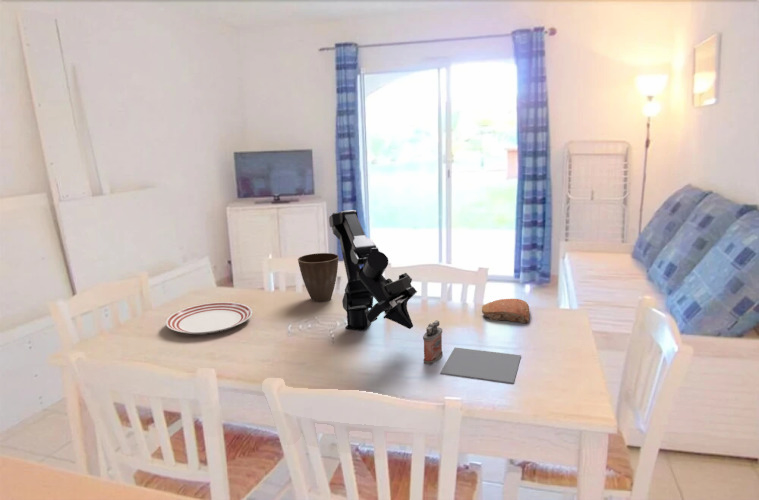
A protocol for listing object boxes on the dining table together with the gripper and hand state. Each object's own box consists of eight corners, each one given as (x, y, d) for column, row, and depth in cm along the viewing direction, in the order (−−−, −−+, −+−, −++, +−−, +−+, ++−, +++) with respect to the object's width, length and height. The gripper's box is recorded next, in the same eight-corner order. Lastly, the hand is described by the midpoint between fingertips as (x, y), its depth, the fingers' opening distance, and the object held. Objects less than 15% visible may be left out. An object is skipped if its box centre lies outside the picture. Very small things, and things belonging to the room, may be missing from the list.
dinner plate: (269, 320, 171) (268, 311, 170) (195, 347, 151) (194, 337, 150) (223, 305, 188) (222, 296, 188) (151, 328, 168) (149, 318, 167)
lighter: (432, 365, 132) (431, 329, 130) (420, 363, 134) (419, 327, 132) (445, 354, 139) (444, 319, 137) (434, 351, 141) (433, 317, 139)
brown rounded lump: (484, 291, 175) (529, 300, 171) (481, 310, 176) (526, 318, 172) (482, 300, 161) (531, 309, 157) (479, 319, 162) (527, 329, 158)
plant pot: (293, 303, 186) (290, 261, 183) (312, 291, 200) (309, 252, 196) (330, 306, 181) (327, 263, 178) (347, 294, 195) (345, 253, 191)
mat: (440, 373, 128) (440, 372, 128) (454, 348, 142) (454, 347, 142) (513, 383, 121) (513, 382, 121) (520, 356, 136) (520, 355, 136)
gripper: (373, 274, 130) (412, 322, 127) (410, 258, 145) (445, 301, 142) (350, 299, 136) (386, 345, 133) (388, 281, 151) (421, 322, 148)
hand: (411, 327), depth 138 cm, fingers closed
